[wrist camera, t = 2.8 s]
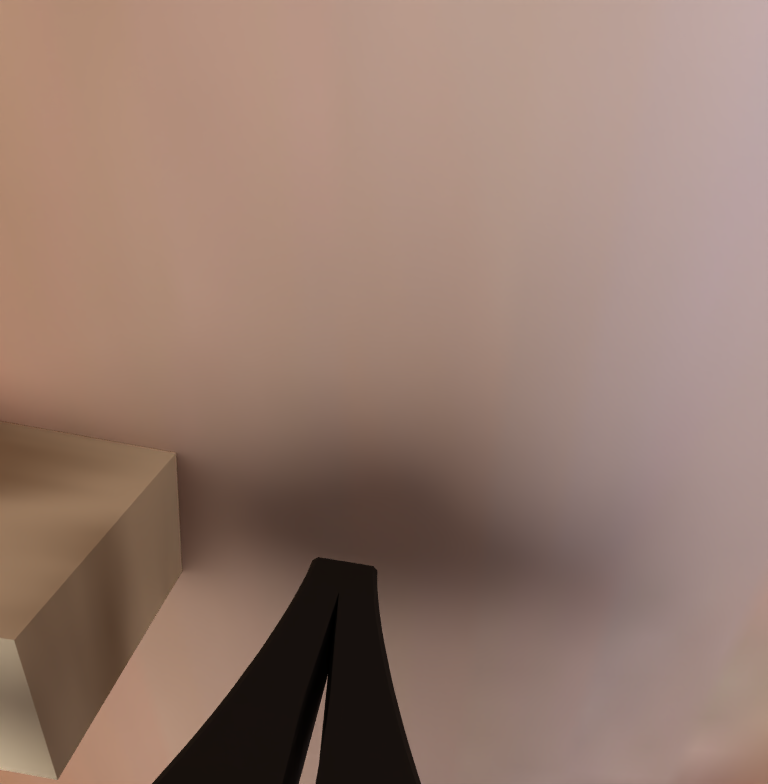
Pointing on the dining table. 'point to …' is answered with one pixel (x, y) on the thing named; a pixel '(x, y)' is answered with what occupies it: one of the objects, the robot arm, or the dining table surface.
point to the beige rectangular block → (75, 581)
